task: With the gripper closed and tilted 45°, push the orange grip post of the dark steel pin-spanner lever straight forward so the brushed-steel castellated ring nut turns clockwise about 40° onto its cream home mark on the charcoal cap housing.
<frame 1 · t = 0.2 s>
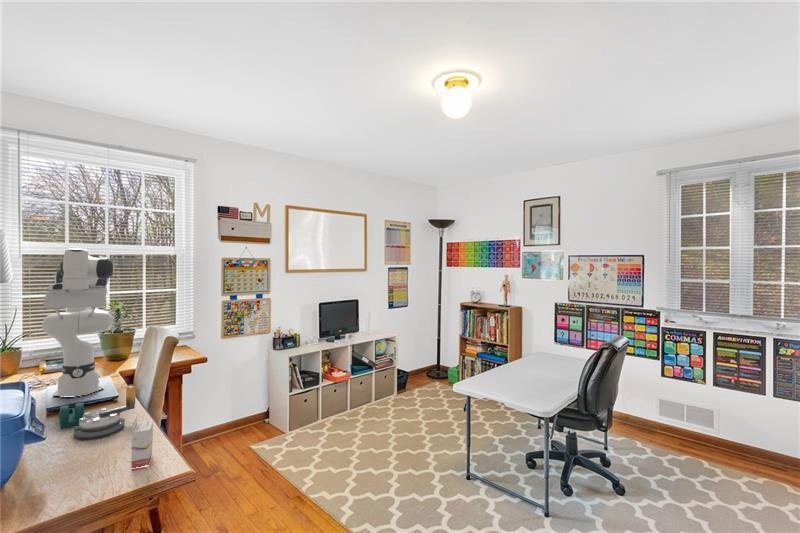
hand: (75, 318, 163), 39 cm above the table, tool pointing down, fingers open, 8 cm apart
ink cartridge box: (142, 463, 122), on the table
cap housing: (100, 430, 144), on the table
bracket: (70, 420, 153), on the table
ring nut: (108, 407, 146), point 8 cm above the table, hinge at 110.0°
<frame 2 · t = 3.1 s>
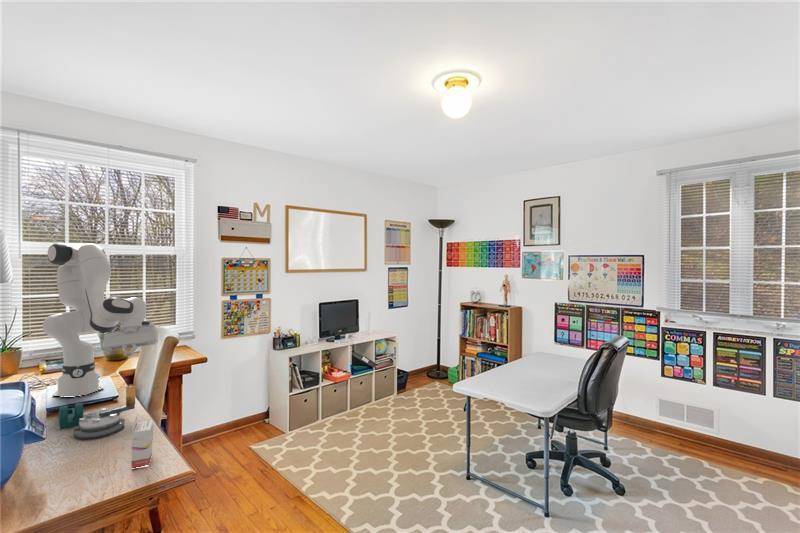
hand: (128, 355, 164), 23 cm above the table, tool tilted 45°, fingers closed
nothing on the table moved.
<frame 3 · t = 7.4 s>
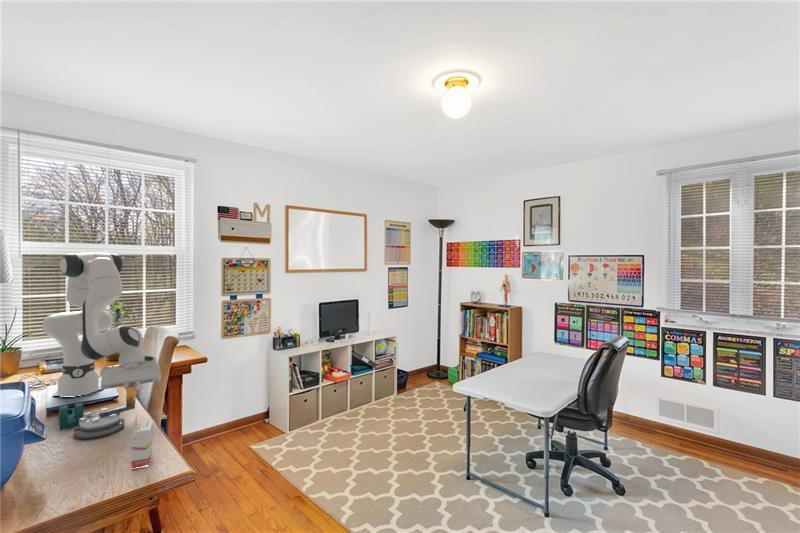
hand: (132, 393, 154), 11 cm above the table, tool tilted 45°, fingers closed, pressing on ring nut
ring nut: (108, 407, 146), point 8 cm above the table, hinge at 108.9°, touching gripper
everything else where it was.
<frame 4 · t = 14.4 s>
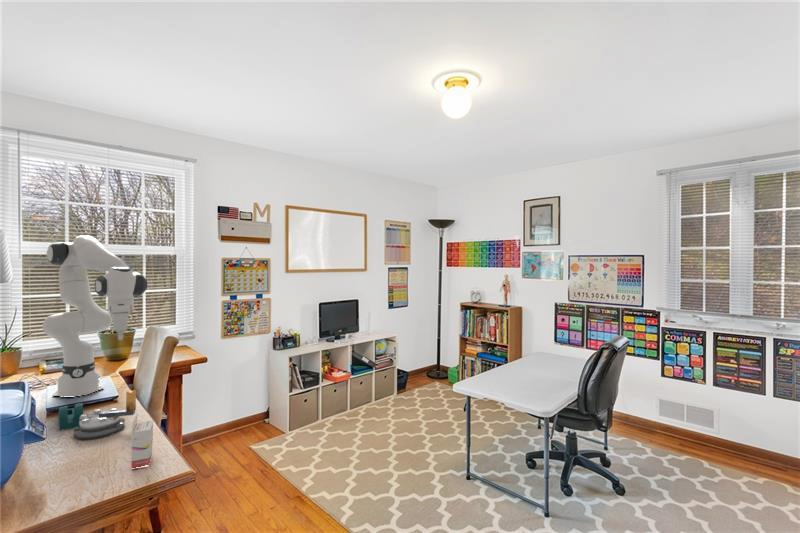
hand: (120, 339, 159), 31 cm above the table, tool pointing down, fingers closed
ring nut: (108, 408, 144), point 8 cm above the table, hinge at 70.2°
everything else where it was.
at the end: ring nut at +70° (first picture: +110°); bracket moved 0.7 cm from its start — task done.
